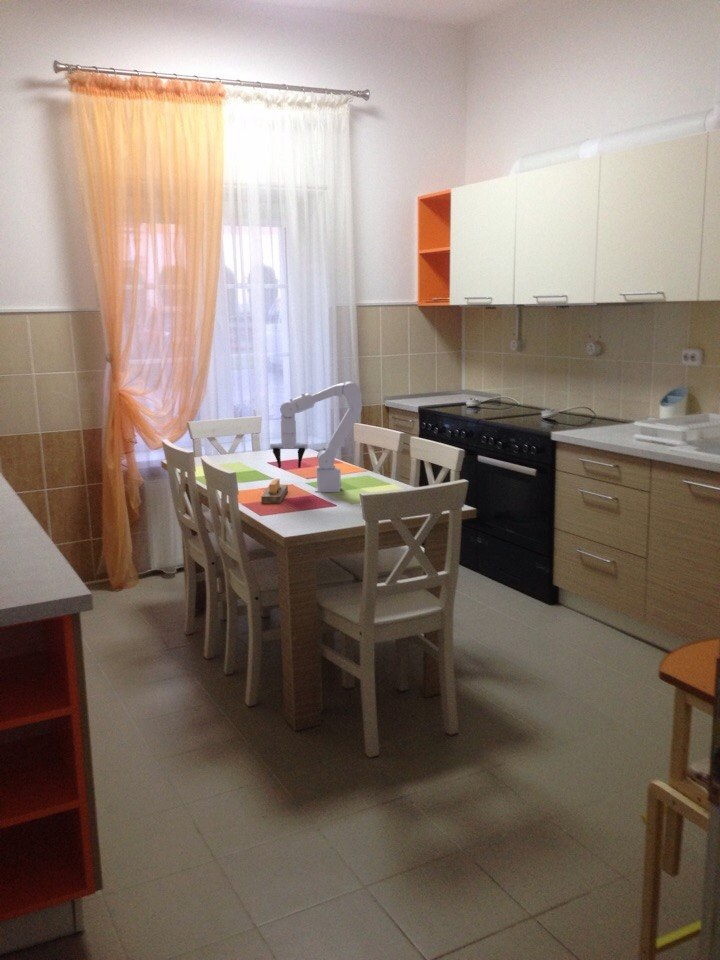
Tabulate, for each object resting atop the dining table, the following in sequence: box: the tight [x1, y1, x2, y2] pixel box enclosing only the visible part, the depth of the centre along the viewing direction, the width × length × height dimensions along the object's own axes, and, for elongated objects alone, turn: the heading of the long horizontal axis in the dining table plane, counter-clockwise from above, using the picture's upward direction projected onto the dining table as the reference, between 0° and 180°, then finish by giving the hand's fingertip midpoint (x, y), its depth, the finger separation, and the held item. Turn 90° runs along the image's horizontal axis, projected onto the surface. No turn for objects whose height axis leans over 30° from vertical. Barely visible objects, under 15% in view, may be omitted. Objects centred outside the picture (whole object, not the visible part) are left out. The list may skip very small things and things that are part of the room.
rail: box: [260, 484, 289, 504], centre depth 314 cm, size 7×20×2 cm, turn 177°
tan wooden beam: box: [268, 478, 281, 494], centre depth 313 cm, size 2×10×6 cm, turn 177°
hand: (289, 467), depth 321 cm, fingers open, 7 cm apart
